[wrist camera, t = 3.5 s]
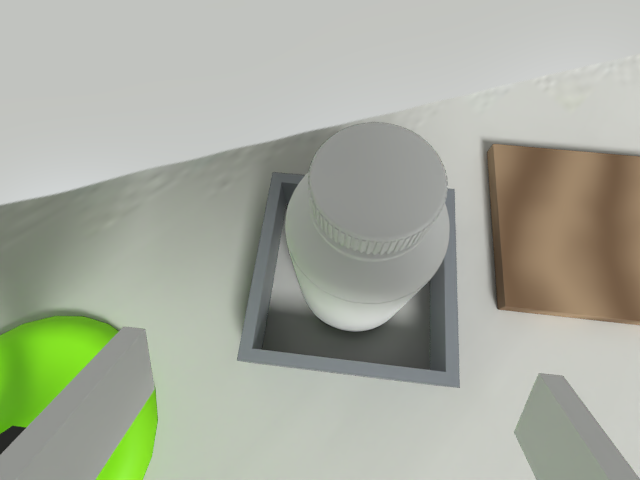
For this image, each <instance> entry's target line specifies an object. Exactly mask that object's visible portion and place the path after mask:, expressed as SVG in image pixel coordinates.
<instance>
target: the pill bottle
mask: <svg viewBox="0 0 640 480" xmlns="http://www.w3.org/2000/svg"><path fill="white" fill-rule="evenodd" d="M315 154H316V155H315V156H314V157H313V161H311V167H310V168H309V172H308V173H307V174H306V175H305V176H304V177H303V179H302V180H301V181H300V183H299V184H298V185H297V187H296V189H295V190H294V192H293V194H292V197H291V199H290V201H289V204H288V207H287V211H286V217H285V236H286V242H287V246H288V250H289V253H290V256H291V259H292V262H293V266H294V269H295V272H296V275H297V278H298V281H299V284H300V287H301V291H302V294H303V296H304V299H305V301H306V303H307V305H308V306H309V308H310V309H311V310H312V312H313V313H314V314H315V315H316V316H317V317H318V318H319V319H321V320H322V321H323V322H325V323H326V324H328V325H330V326H332V327H334V328H337V329H340V330H344V331H351V332H358V331H365V330H370V329H373V328H376V327H378V326H380V325H382V324H383V323H385V322H386V321H388V320H389V319H390V318H391V317H392V316H393V315H394V314H395V313H396V312H398V311H399V310H400V309H401V308H402V307H403V306H404V305H405V304H406V303H407V302H408V301H409V300H410V299H411V298H412V297H413V296H414V295H415V294H416V293H417V292H418V291H419V290H420V289H421V288H422V287H424V286H425V285H426V284H427V283H428V282H429V280H430V279H431V278H432V277H433V276H434V274H435V273H436V272H437V270H438V269H439V267H440V265H441V263H442V262H443V259H444V257H445V254H446V251H447V248H448V243H449V231H450V225H449V216H448V211H447V207H446V204H445V201H446V200H445V199H446V198H447V191H448V188H447V186H448V182H447V175H446V171H445V169H444V165H443V163H442V161H441V159H440V157H439V156H438V154H437V153H436V151H435V150H434V149H433V148H432V146H431V145H430V144H429V143H428V142H427V141H425V140H424V139H423V138H422V137H420V136H419V135H417V134H416V133H414V132H412V131H410V130H408V129H406V128H403V127H400V126H397V125H393V124H388V123H379V122H371V123H362V124H357V125H353V126H350V127H347V128H345V129H343V130H341V131H339V132H337V133H336V134H334V135H333V136H331V137H330V138H329V139H327V141H326V142H324V143H323V145H322V146H320V148H319V150H318V151H317V152H316V153H315Z"/></svg>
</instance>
